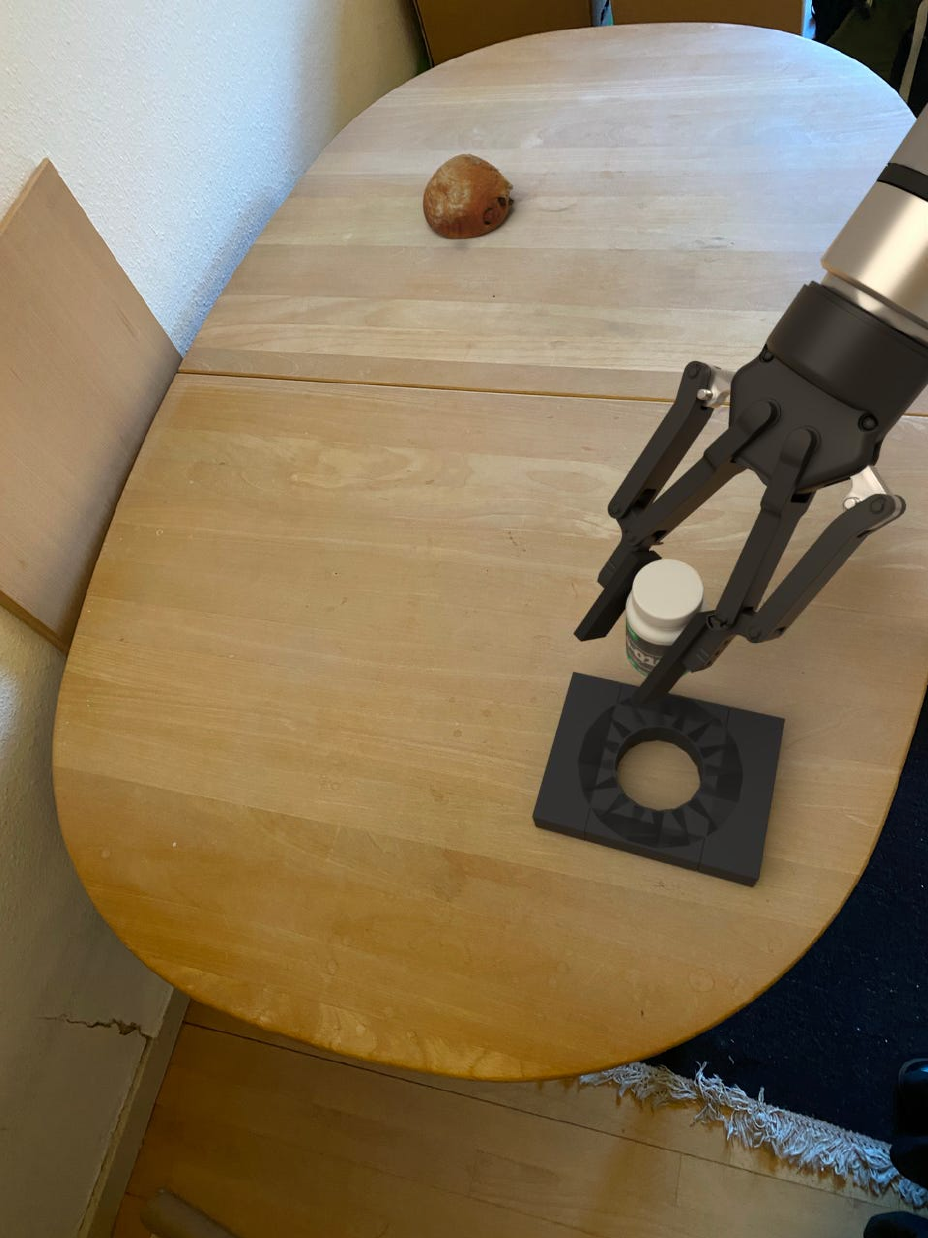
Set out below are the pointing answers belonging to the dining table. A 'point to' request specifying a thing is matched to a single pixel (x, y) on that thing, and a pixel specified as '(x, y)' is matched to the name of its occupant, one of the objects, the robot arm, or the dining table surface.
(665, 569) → the pill bottle
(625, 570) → the robot arm
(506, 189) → the bread roll
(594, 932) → the dining table surface
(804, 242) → the dining table surface
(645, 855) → the black rectangular holder
